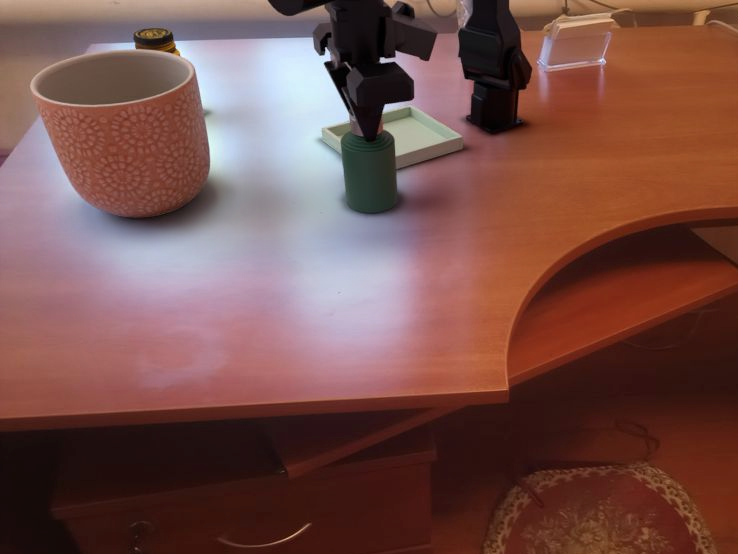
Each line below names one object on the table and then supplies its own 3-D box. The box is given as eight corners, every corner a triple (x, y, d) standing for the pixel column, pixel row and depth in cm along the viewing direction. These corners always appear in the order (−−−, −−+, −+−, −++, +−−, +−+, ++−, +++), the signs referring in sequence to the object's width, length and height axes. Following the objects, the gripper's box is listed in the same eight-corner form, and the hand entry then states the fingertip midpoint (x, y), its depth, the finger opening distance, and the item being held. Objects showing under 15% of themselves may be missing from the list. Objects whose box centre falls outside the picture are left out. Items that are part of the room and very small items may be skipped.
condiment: (206, 113, 109) (188, 30, 102) (164, 133, 104) (142, 47, 96) (170, 103, 112) (149, 21, 104) (127, 122, 106) (102, 37, 98)
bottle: (388, 183, 94) (383, 101, 87) (404, 207, 90) (401, 122, 83) (340, 192, 92) (331, 108, 85) (354, 217, 88) (346, 131, 81)
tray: (411, 116, 110) (411, 104, 109) (462, 148, 103) (463, 136, 101) (322, 140, 103) (321, 128, 102) (370, 177, 96) (369, 164, 94)
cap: (349, 123, 86) (348, 105, 85) (381, 122, 87) (380, 104, 85) (351, 137, 83) (349, 119, 82) (384, 135, 84) (383, 117, 82)
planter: (64, 241, 82) (13, 111, 72) (87, 171, 95) (45, 52, 85) (220, 226, 85) (191, 100, 75) (222, 161, 98) (197, 45, 88)
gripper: (462, 11, 71) (459, 158, 81) (399, -37, 84) (403, 95, 94) (352, 22, 68) (363, 174, 78) (304, -30, 80) (319, 107, 91)
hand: (365, 134), depth 85 cm, fingers closed on cap, 4 cm apart
